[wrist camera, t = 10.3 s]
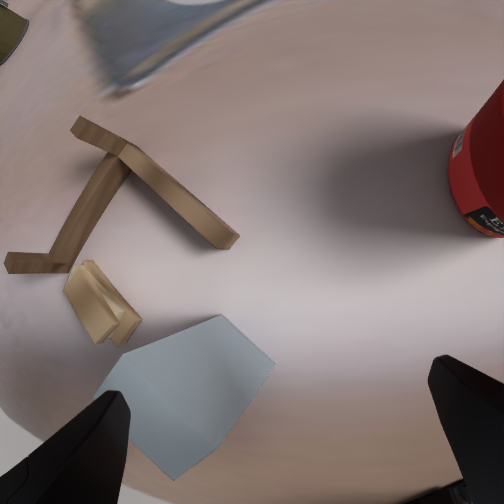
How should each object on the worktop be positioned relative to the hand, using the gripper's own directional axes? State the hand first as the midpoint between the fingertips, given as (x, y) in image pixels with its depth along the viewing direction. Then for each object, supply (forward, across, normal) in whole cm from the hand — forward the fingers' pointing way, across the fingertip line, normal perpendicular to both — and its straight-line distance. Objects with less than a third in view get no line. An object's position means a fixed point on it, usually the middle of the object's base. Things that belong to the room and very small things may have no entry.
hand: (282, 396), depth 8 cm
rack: (+16, +9, +2) cm, 19 cm away
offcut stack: (+16, +13, +5) cm, 21 cm away
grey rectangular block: (+12, +2, +8) cm, 14 cm away
